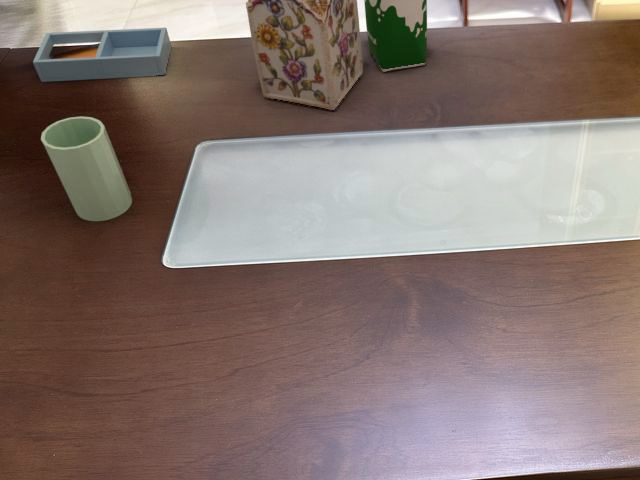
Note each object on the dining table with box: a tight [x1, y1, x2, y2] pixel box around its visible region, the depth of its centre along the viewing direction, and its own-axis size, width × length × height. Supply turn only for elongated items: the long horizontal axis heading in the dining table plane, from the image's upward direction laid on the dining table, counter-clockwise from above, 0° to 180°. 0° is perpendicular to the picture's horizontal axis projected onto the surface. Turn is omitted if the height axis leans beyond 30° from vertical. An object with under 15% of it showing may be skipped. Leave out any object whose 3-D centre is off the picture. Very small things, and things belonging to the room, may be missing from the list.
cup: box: [40, 115, 133, 222], centre depth 85 cm, size 7×7×10 cm
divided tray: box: [32, 27, 173, 83], centre depth 110 cm, size 18×9×3 cm, turn 99°
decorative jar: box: [245, 0, 364, 109], centre depth 101 cm, size 12×12×18 cm
